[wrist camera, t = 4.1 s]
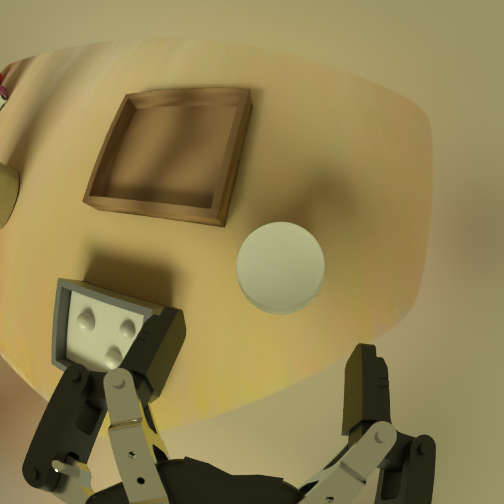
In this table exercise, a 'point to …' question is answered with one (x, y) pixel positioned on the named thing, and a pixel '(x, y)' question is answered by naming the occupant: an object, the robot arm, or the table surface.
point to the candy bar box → (2, 96)
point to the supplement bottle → (280, 268)
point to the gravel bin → (96, 325)
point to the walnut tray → (172, 155)
